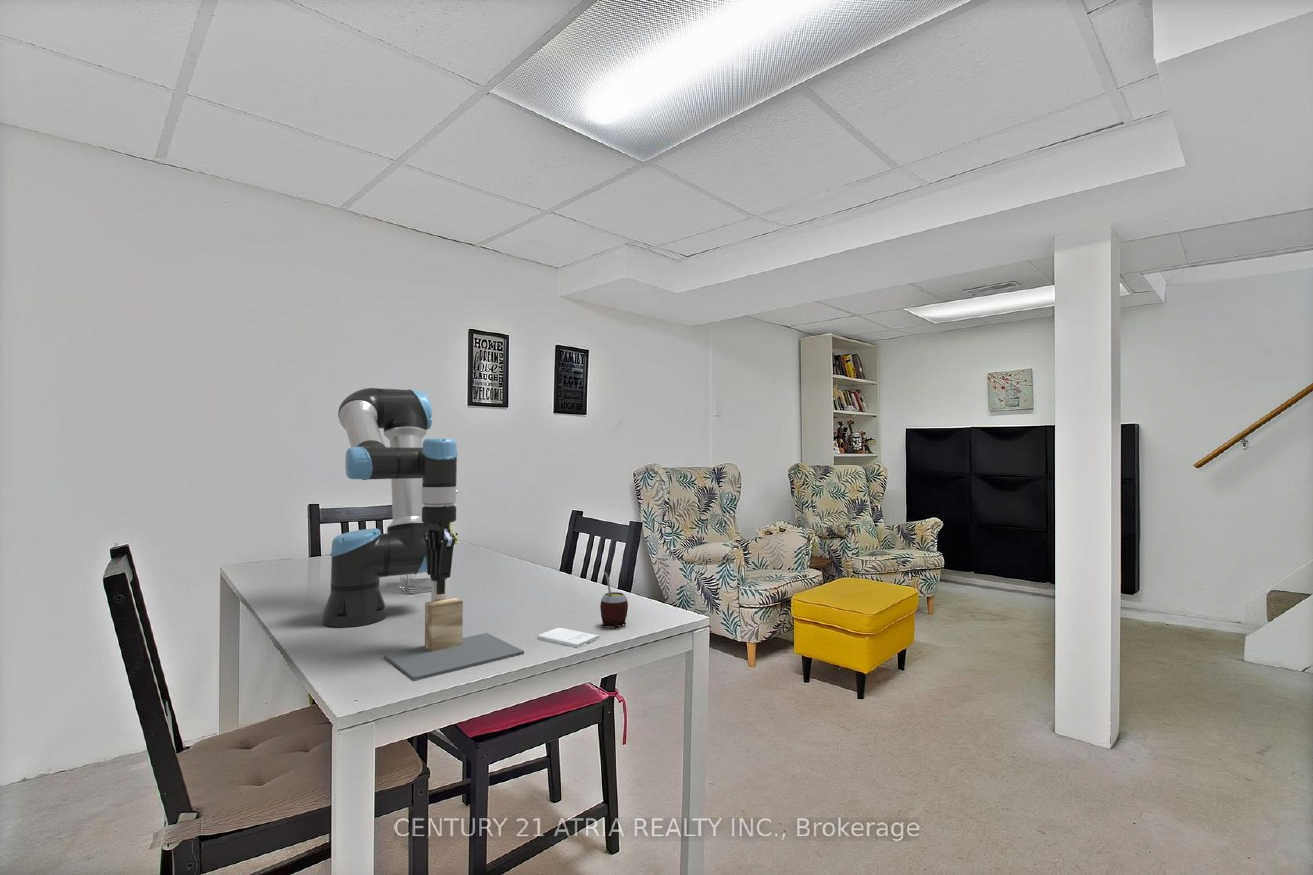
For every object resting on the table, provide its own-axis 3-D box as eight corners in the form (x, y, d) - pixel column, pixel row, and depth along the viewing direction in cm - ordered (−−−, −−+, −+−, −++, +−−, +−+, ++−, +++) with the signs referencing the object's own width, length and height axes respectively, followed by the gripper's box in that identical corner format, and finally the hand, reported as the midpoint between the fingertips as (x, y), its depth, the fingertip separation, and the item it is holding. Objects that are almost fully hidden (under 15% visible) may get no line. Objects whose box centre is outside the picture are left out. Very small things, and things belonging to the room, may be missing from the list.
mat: (383, 657, 131) (383, 654, 131) (486, 635, 147) (487, 632, 147) (414, 680, 118) (414, 677, 118) (524, 653, 134) (524, 650, 134)
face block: (424, 647, 136) (425, 602, 137) (454, 640, 141) (455, 597, 141) (431, 651, 133) (432, 605, 134) (462, 644, 138) (462, 600, 138)
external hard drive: (559, 633, 151) (599, 641, 145) (537, 641, 144) (578, 650, 138) (559, 626, 152) (599, 634, 145) (537, 634, 145) (578, 643, 138)
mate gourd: (623, 620, 160) (623, 563, 161) (632, 629, 153) (632, 569, 153) (595, 623, 158) (596, 565, 158) (603, 631, 151) (603, 571, 151)
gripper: (466, 505, 138) (465, 610, 137) (443, 502, 148) (443, 600, 147) (434, 507, 133) (433, 616, 132) (412, 504, 143) (411, 605, 142)
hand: (438, 607), depth 140 cm, fingers closed
